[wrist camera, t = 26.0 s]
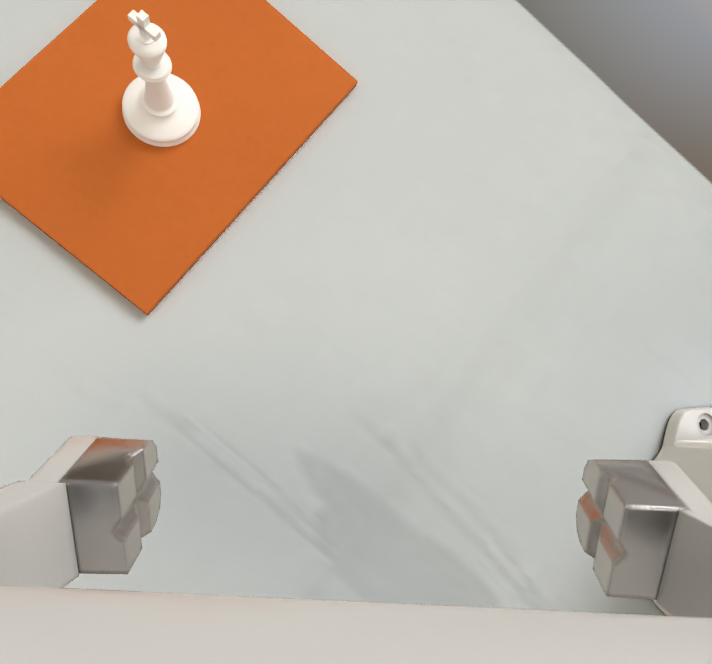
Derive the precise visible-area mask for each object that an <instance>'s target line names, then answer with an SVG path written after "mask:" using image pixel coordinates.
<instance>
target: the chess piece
mask: <svg viewBox="0 0 712 664" xmlns="http://www.w3.org/2000/svg"><path fill="white" fill-rule="evenodd" d="M128 19H129V21H130V22H131V23H133V24H134V26H133V27H131V29H130V30H129V32H128V36H127V41H128V45H129V47H130V49H131V50H132V52H133V53H134V54H135V55H134V58H133V69H134V71H135V73H136V74H137V76H138V77H137V78H136V79H134V80H133V81H132V82H131V83H130V84H129V85H128V87H127V88H126V90H125V92H124V95H123V99H122V113H123V118H124V121H125V123H126V125H127V127H128V128H129V130H130V131H131V132H132V133H133V134H134V135H135V136H136V137H137V138H138V139H140V140H141V141H143V142H145V143H147V144H150V145H153V146H158V147H170V146H175V145H178V144H181V143H183V142H185V141H186V140H188V139H189V138H190V137H191V136H192V135H193V134H194V133H195V131H196V129H197V128H198V125H199V122H200V117H201V110H200V105H199V102H198V100H197V97H196V95H195V93H194V91H193V90H192V88H191V87H190V86H189V85H188V84H187V83H186V82H185V81H184V80H182V79H181V78H179V77H177V76H175V75H173V74H170V73H171V71H172V63H171V60H170V58H169V56H168V55H167V54H166V53H165V50H166V47H167V38H166V35H165V33H164V31H163V30H162V29H161V28H160V27H159V26H157V25H155V24H153V23H150V19H149V15H148V14H146V13H145V12H144V11H143V10H141V11H140V12H139V13H137V12H136V11H135V10H132V11H131V12H130V13H129V14H128Z"/></svg>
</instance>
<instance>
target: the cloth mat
mask: <svg viewBox="0 0 712 664" xmlns="http://www.w3.org/2000/svg"><path fill="white" fill-rule="evenodd" d="M132 10H135V11H136V12H137V13H139V12H140V11H141V10H143V11H144V12H145V13H146V14H148V15H149V19H150V23H153V24H155V25H157V26H159V27H160V28H161V29H162V30H163V31H164V33H165V35H166V38H167V47H166V50H165V53H166V54H167V55H168V56H169V58H170V60H171V63H172V71H171V73H170V74H173V75H175V76H177V77H179V78H181V79H182V80H184V81H185V82H186V83H187V84H188V85H189V86H190V87H191V88H192V90H193V91H194V93H195V95H196V97H197V100H198V102H199V105H200V110H201V117H200V122H199V125H198V128H197V129H196V131H195V133H194V134H193V135H192V136H191V137H190V138H189V139H188V140H186V141H185V142H183V143H181V144H178V145H175V146H170V147H158V146H153V145H150V144H147V143H145V142H143V141H141V140H140V139H138V138H137V137H136V136H135V135H134V134H133V133H132V132H131V131H130V130H129V128H128V127H127V125H126V123H125V121H124V118H123V113H122V99H123V95H124V92H125V90H126V88H127V87H128V85H129V84H130V83H131V82H132V81H133V80H134V79H136V78H137V77H138V76H137V74H136V73H135V71H134V69H133V58H134V55H135V54H134V53H133V52H132V50H131V49H130V47H129V45H128V41H127V36H128V32H129V30H130V29H131V27H133V26H134V24H133V23H131V22H130V21H129V19H128V14H129V13H130V12H131V11H132ZM356 84H357V80H356V79H354V78H353V77H352V76H351V75H350V74H349V73H348V72H347V71H345V70H344V69H343V68H342V67H341V66H340V65H339V64H337V63H336V62H335V61H334V60H333V59H332V58H331V57H329V56H328V55H327V54H326V53H325V52H324V51H323V50H322V49H320V48H319V47H318V46H317V45H316V44H315V43H314V42H312V41H311V40H310V39H309V38H308V37H307V36H306V35H304V34H303V33H302V32H301V31H300V30H299V29H298V28H296V27H295V26H294V25H293V24H292V23H291V22H290V21H289V20H287V19H286V18H285V17H284V16H283V15H282V14H281V13H279V12H278V11H277V10H276V9H275V8H274V7H273V6H271V5H270V4H269V3H268V2H267V1H266V0H97V1H96V2H95V3H94V4H93V5H92V6H90V7H89V8H88V9H87V10H86V11H85V12H84V13H83V14H82V15H80V16H79V17H78V18H77V19H76V20H75V21H74V22H73V23H72V24H70V25H69V26H68V27H67V28H66V29H65V30H64V31H63V32H62V33H60V34H59V35H58V36H57V37H56V38H55V39H54V40H53V41H52V42H51V43H49V44H48V45H47V46H46V47H45V48H44V49H43V50H42V51H41V52H39V53H38V54H37V55H36V56H35V57H34V58H33V59H32V60H31V61H29V62H28V63H27V64H26V65H25V66H24V67H23V68H22V69H21V70H19V71H18V72H17V73H16V74H15V75H14V76H13V77H12V78H11V79H9V80H8V81H7V82H6V83H5V84H4V85H3V86H2V87H1V88H0V197H1V198H2V199H3V200H4V201H6V202H7V203H8V204H9V205H11V206H12V207H13V208H14V209H16V210H17V211H18V212H19V213H21V214H22V215H23V216H24V217H26V218H27V219H28V220H29V221H31V222H32V223H33V224H34V225H36V226H37V227H38V228H39V229H41V230H42V231H43V232H44V233H45V234H47V235H48V236H49V237H50V238H52V239H53V240H54V241H55V242H57V243H58V244H59V245H60V246H62V247H63V248H64V249H65V250H67V251H68V252H69V253H70V254H72V255H73V256H74V257H75V258H77V259H78V260H79V261H80V262H82V263H83V264H84V265H85V266H87V267H88V268H89V269H90V270H92V271H93V272H94V273H95V274H97V275H98V276H99V277H100V278H102V279H103V280H104V281H105V282H107V283H108V284H109V285H110V286H112V287H113V288H114V289H115V290H117V291H118V292H119V293H120V294H122V295H123V296H124V297H125V298H127V299H128V300H129V301H130V302H132V303H133V304H134V305H135V306H137V307H138V308H139V309H140V310H142V311H143V312H144V313H145V314H147V315H148V314H149V313H150V312H151V311H152V310H153V309H154V308H155V307H156V306H157V304H158V303H159V302H160V301H161V300H162V299H163V298H164V297H165V296H166V295H167V293H168V292H169V291H170V290H171V289H172V288H173V287H174V286H175V285H176V283H177V282H178V281H179V280H180V279H181V278H182V277H183V276H184V275H185V274H186V272H187V271H188V270H189V269H190V268H191V267H192V266H193V265H194V264H195V263H196V261H197V260H198V259H199V258H200V257H201V256H202V255H203V254H204V253H205V252H206V250H207V249H208V248H209V247H210V246H211V245H212V244H213V243H214V242H215V240H216V239H217V238H218V237H219V236H220V235H221V234H222V233H223V232H224V231H225V229H226V228H227V227H228V226H229V225H230V224H231V223H232V222H233V221H234V220H235V218H236V217H237V216H238V215H239V214H240V213H241V212H242V211H243V210H244V209H245V207H246V206H247V205H248V204H249V203H250V202H251V201H252V200H253V199H254V197H255V196H256V195H257V194H258V193H259V192H260V191H261V190H262V189H263V188H264V186H265V185H266V184H267V183H268V182H269V181H270V180H271V179H272V178H273V177H274V175H275V174H276V173H277V172H278V171H279V170H280V169H281V168H282V167H283V165H284V164H285V163H286V162H287V161H288V160H289V159H290V158H291V157H292V156H293V154H294V153H295V152H296V151H297V150H298V149H299V148H300V147H301V146H302V145H303V143H304V142H305V141H306V140H307V139H308V138H309V137H310V136H311V135H312V134H313V132H314V131H315V130H316V129H317V128H318V127H319V126H320V125H321V124H322V122H323V121H324V120H325V119H326V118H327V117H328V116H329V115H330V114H331V113H332V111H333V110H334V109H335V108H336V107H337V106H338V105H339V104H340V103H341V102H342V100H343V99H344V98H345V97H346V96H347V95H348V94H349V93H350V92H351V91H352V89H353V88H354V87H355V86H356Z"/></svg>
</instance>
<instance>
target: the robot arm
mask: <svg viewBox="0 0 712 664" xmlns="http://www.w3.org/2000/svg"><path fill="white" fill-rule="evenodd" d="M699 422H701V428H700V427H699ZM157 463H158V455H157V447H156V445H155V443H154V442H153V440H138V439H121V438H105V437H102V438H100V437H91V436H74V437H70V438H69V439H68V440H67V441H66V442H65V443H64V444H63V445H62V446H61V447H60V448H59V449H58V450H57V451H56V452H55V453H54V454H53V455H52V456H51V457H50V458H49V459H48V460H47V461H46V462H45V463H44V464H43V465H42V466H41V467H40V468H39V469H38V470H37V471H36V473H35V474H34V475H33V476H32V477H31V478H30V479H29V480H28V481H17V482H15V483H12V484H10V485H7V486H5V487H2V488H0V664H712V407H702V408H684V409H679V410H676V411H675V412H674V413H673V414H672V415H671V417H670V419H669V422H668V425H667V429H666V433H665V437H664V441H663V446H662V448H661V450H660V452H659V454H658V455H657V457H656V458H655V460H654V461H646V460H588V461H587V464H586V466H585V468H584V473H583V478H582V480H583V482H584V484H585V486H586V487H587V489H588V491H587V492H586V493H585V494H584V495H583V496H582V497H581V498H580V499H579V500H578V506H577V513H576V523H577V533H578V537H579V541H580V543H581V545H582V547H583V550H584V551H585V552H586V553H587V554H589V555H590V556H592V557H593V558H595V560H594V565H593V570H594V572H595V574H596V576H597V578H598V580H599V582H600V584H601V586H602V588H603V590H604V592H605V594H606V596H611V597H624V598H638V599H652V600H653V602H654V603H655V604H656V605H657V607H658V608H659V609H660V610H661V611H662V612H663V613H664V614H665V615H667V616H663V615H641V614H619V613H598V612H576V611H554V610H532V609H510V608H489V607H467V606H445V605H423V604H402V603H380V602H358V601H337V600H315V599H293V598H271V597H250V596H228V595H206V594H185V593H163V592H141V591H120V590H98V589H76V588H63V587H64V586H66V585H67V584H68V583H70V582H71V581H73V580H74V579H75V578H77V577H78V576H79V573H86V574H128V573H129V571H130V569H131V568H132V566H133V564H134V562H135V560H136V559H137V557H138V555H139V553H140V551H141V549H142V542H141V538H142V537H143V536H145V535H147V534H148V533H150V532H151V531H152V529H153V527H154V525H155V523H156V521H157V517H158V513H159V509H160V501H161V488H160V481H159V480H158V479H157V478H156V477H155V475H154V474H153V473H152V471H153V469H154V468H155V466H156V464H157Z"/></svg>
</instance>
